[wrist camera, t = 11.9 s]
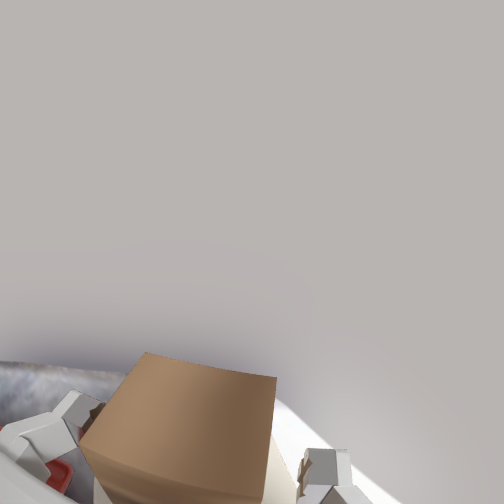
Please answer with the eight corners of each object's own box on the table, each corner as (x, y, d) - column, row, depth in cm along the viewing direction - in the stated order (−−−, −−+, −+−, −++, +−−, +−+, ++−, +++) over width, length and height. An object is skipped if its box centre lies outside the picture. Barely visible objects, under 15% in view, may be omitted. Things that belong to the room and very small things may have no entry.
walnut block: (140, 541, 9) (77, 443, 6) (166, 477, 13) (145, 351, 10) (237, 564, 8) (263, 497, 5) (250, 495, 13) (276, 377, 10)
